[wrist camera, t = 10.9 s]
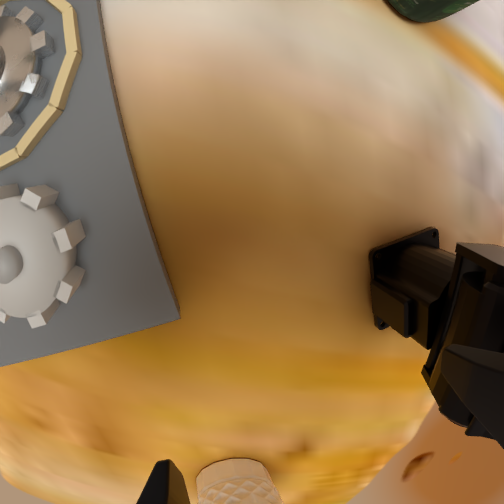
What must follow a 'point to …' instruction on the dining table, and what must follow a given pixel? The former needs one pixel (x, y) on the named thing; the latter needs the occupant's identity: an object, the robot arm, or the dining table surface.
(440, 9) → the coffee jar
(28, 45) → the gear
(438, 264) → the robot arm
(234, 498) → the white cup
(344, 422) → the dining table surface
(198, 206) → the dining table surface
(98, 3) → the carrier plate
